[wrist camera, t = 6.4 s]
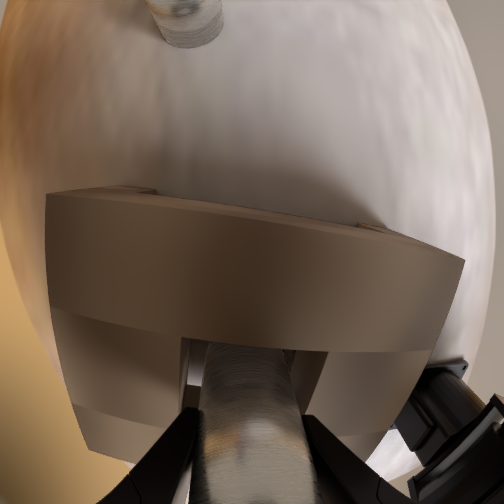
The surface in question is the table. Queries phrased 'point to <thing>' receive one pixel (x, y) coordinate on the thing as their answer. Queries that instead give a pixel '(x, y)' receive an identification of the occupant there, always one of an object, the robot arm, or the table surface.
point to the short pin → (187, 20)
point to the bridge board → (234, 309)
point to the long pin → (250, 432)
